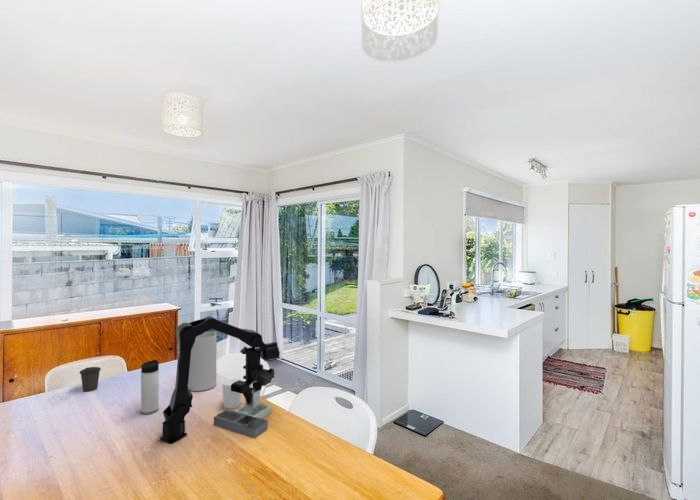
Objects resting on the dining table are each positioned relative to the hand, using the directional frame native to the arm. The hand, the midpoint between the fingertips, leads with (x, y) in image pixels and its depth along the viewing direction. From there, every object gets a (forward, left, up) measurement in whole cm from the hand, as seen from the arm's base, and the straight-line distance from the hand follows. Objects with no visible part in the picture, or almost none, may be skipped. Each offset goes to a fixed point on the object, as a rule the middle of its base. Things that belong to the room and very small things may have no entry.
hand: (252, 401), depth 138 cm
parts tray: (0, 0, -6) cm, 6 cm away
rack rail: (-9, -2, -6) cm, 11 cm away
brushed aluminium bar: (0, 0, -4) cm, 4 cm away
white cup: (+3, +14, -6) cm, 15 cm away
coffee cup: (-15, +85, -6) cm, 86 cm away
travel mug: (-16, +40, -6) cm, 43 cm away
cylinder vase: (+11, +41, -6) cm, 43 cm away
